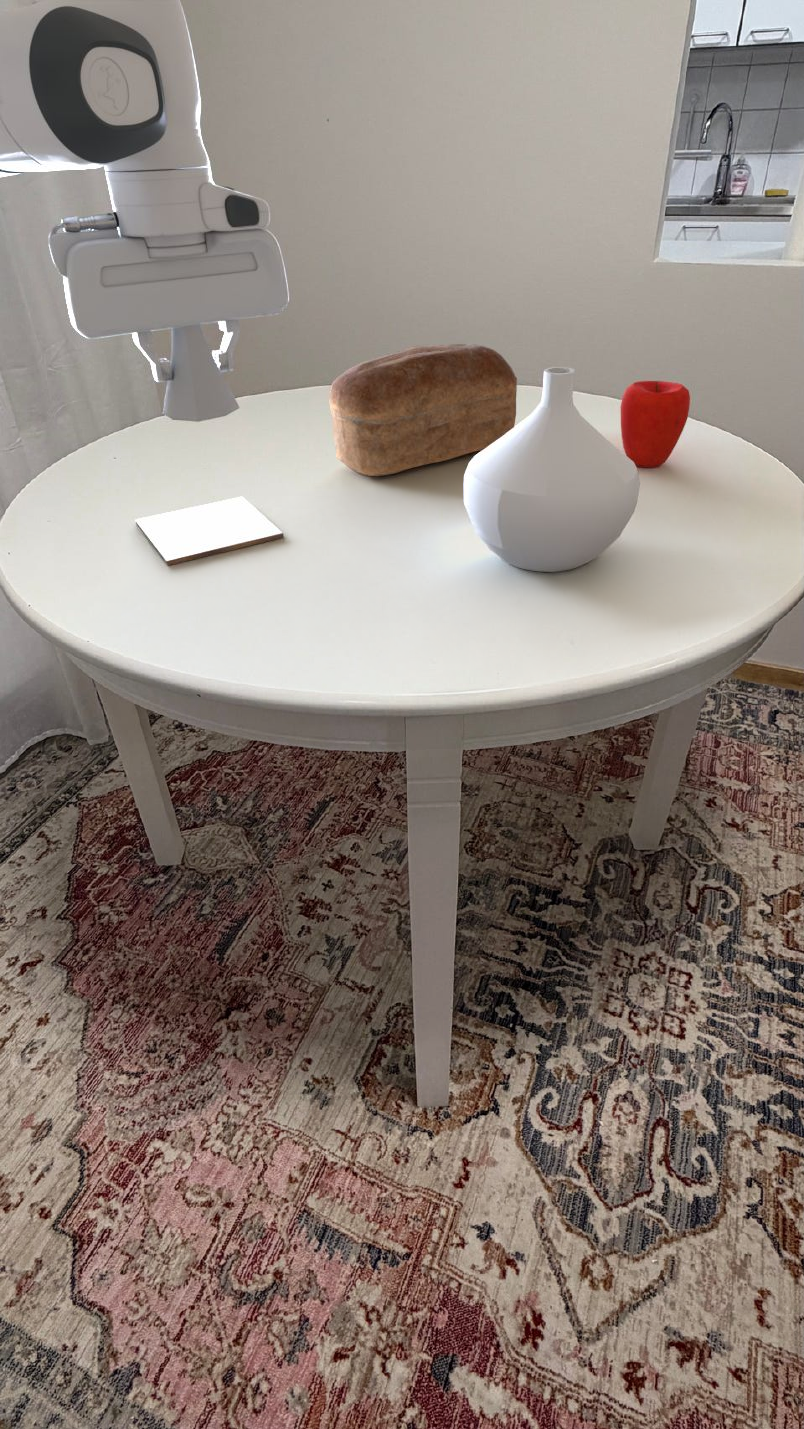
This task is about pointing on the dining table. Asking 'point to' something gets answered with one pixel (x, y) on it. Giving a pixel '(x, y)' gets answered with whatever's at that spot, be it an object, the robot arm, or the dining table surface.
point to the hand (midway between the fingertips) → (195, 375)
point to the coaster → (207, 530)
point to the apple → (653, 420)
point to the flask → (195, 380)
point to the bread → (421, 407)
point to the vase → (551, 486)
